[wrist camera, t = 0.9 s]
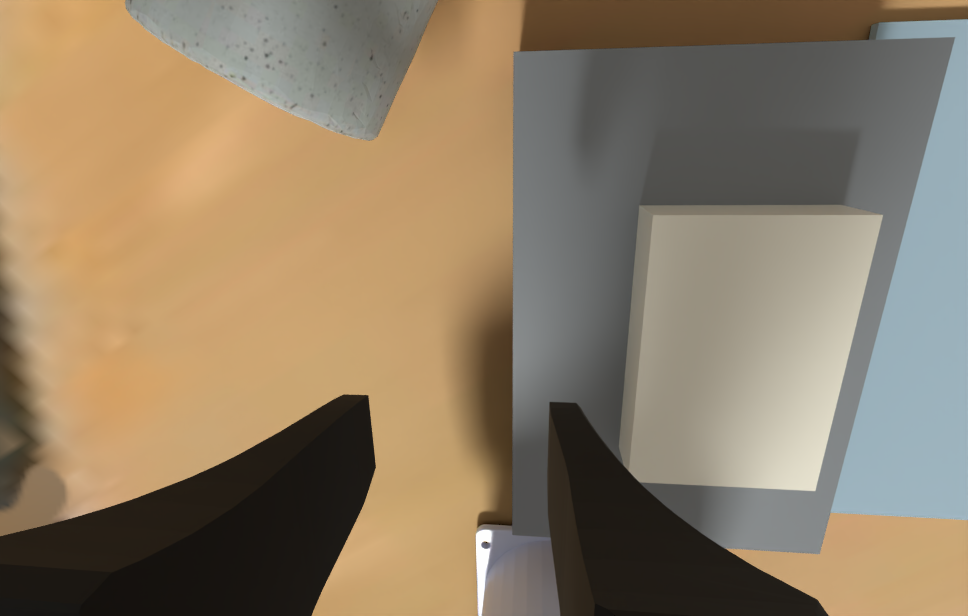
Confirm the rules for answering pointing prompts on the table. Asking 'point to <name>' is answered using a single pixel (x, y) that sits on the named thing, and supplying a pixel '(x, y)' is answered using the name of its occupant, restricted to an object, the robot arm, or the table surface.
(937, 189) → the mat
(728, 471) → the cream rectangular block
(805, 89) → the plate
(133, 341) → the table surface
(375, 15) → the ceramic mug
